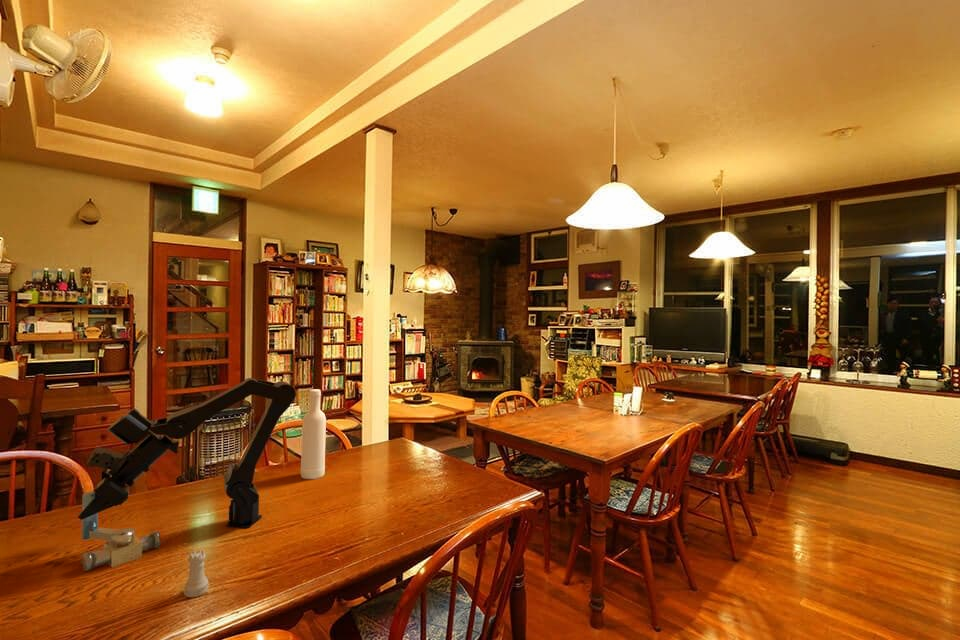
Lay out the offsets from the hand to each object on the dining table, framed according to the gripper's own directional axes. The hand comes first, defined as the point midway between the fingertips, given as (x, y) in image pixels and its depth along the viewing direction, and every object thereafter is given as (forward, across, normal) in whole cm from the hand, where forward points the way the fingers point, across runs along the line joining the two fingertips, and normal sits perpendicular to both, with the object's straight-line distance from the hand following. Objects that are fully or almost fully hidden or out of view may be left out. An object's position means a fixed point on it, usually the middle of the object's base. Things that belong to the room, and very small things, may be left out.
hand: (82, 510), depth 105 cm
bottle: (-34, -26, +48) cm, 65 cm away
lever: (+1, +3, +8) cm, 9 cm away
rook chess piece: (-8, +29, +22) cm, 37 cm away
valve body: (+2, +6, +13) cm, 14 cm away
